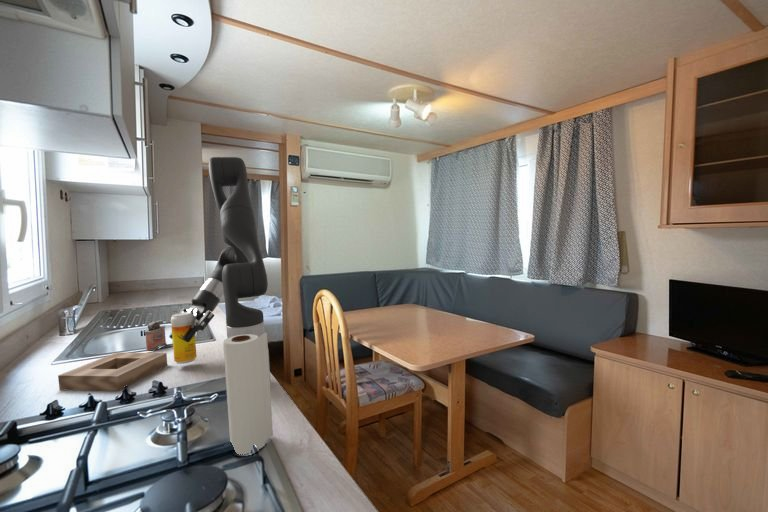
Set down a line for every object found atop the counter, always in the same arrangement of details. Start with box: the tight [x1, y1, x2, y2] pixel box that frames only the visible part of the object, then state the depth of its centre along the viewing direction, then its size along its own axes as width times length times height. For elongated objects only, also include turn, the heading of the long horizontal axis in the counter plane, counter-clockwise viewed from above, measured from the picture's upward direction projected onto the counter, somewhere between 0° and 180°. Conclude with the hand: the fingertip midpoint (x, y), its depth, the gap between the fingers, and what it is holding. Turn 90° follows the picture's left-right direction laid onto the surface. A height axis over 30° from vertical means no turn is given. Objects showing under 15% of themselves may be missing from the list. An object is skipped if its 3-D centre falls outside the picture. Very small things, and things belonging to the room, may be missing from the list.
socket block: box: [57, 352, 168, 392], centre depth 104 cm, size 18×18×4 cm
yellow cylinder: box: [170, 312, 197, 365], centre depth 109 cm, size 6×6×15 cm
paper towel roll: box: [222, 332, 274, 455], centre depth 66 cm, size 7×6×21 cm
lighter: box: [144, 319, 167, 352], centre depth 129 cm, size 8×3×10 cm, turn 171°
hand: (178, 339), depth 108 cm, fingers closed on yellow cylinder, 6 cm apart
